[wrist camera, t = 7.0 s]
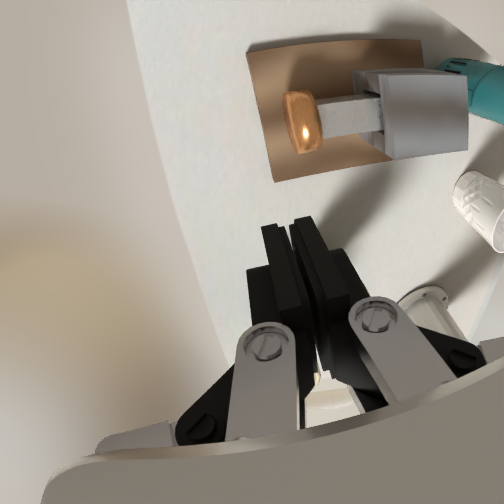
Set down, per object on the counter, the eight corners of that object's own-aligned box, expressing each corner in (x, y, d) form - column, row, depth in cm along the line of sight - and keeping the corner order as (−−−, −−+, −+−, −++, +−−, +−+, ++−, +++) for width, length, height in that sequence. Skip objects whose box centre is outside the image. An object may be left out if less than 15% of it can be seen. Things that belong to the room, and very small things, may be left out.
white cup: (488, 164, 35) (535, 194, 27) (482, 211, 39) (522, 246, 31) (451, 168, 35) (499, 201, 27) (446, 219, 40) (486, 259, 31)
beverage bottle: (458, 112, 31) (582, 175, 14) (420, 93, 30) (557, 147, 13) (470, 69, 27) (598, 110, 11) (432, 46, 26) (573, 71, 9)
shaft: (424, 125, 29) (454, 139, 24) (289, 145, 30) (303, 162, 25) (420, 76, 26) (452, 83, 21) (278, 90, 27) (291, 96, 22)
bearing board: (423, 151, 34) (468, 180, 26) (272, 178, 34) (289, 217, 27) (414, 40, 26) (466, 42, 18) (245, 53, 27) (255, 48, 19)
